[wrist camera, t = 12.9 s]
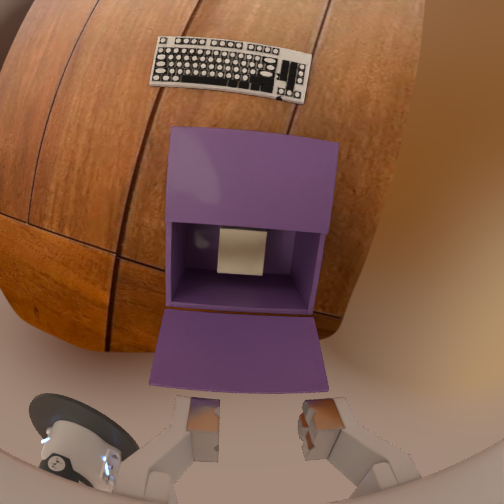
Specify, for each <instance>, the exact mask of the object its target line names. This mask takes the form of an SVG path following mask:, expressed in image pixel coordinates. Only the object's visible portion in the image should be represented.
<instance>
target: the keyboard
mask: <svg viewBox="0 0 504 504" xmlns="http://www.w3.org/2000/svg"><path fill="white" fill-rule="evenodd" d="M311 57H312V55H311V54H307V53H303V52H299V51H294V50H289V49H285V48H279V47H274V46H269V45H263V44H256V43H250V42H242V41H234V40H225V39H215V38H202V37H180V36H159V38H158V42H157V46H156V51H155V56H154V61H153V66H152V71H151V76H150V82H149V85H150V86H152V87H176V88H191V89H203V90H213V91H222V92H230V93H238V94H245V95H252V96H258V97H264V98H270V99H275V100H280V101H286V102H290V103H295V104H300V105H303V103H304V99H305V93H306V87H307V81H308V75H309V69H310V63H311Z"/></svg>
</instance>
